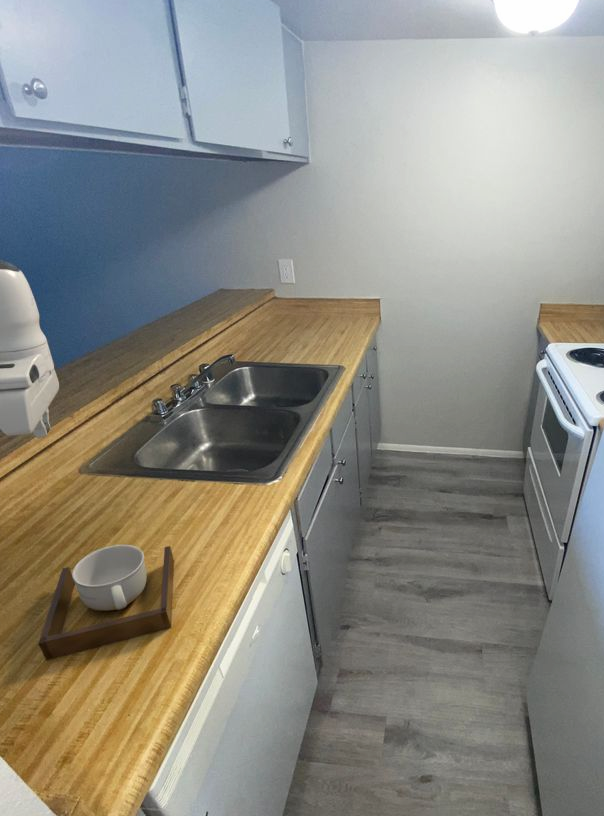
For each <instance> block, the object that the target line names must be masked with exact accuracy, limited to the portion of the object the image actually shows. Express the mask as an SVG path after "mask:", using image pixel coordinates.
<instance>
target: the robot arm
mask: <svg viewBox="0 0 604 816" xmlns="http://www.w3.org/2000/svg"><path fill="white" fill-rule="evenodd" d="M59 390H60V382H59V379H58V375H57V372H56V369H55V363H54V360H53V357H52V353H51V350H50V347H49V342H48V340H47V337H46V335H45V333H44V332H43V331H42V329H41V326H40V312H39V309H38V305H37V302H36V300H35V297H34V294H33V292H32V289H31V286H30V283H29V282H28V280H27V278H26V276H25V274H24V273H23V271H22V270H21V269H20V268H19V267H17V266H16V265H15V264H13V263H11V262H9V261H5V260H2V259H0V431H1V432H2V433H3V434H4V435H6V436H9V437H10V436H11V437H12V436H23V435H24V436H25V435H30V434H32V433H33V435H34V436H33V437H35V438H37V439H41V438H42V439H43V438H46V437H47V436H48V434H49V432H50V431H51V429H52V428H51V424H50V416H49V415H50V414H49V413H50V411H49V406H50V405H51V404H52V401H53V400H54V399H55V396H56V395H57V394H58V392H59Z"/></svg>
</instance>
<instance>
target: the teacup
mask: <svg viewBox="0 0 604 816" xmlns="http://www.w3.org/2000/svg"><path fill="white" fill-rule="evenodd" d="M71 574H72V578H73V580H74V581H75V587H76V591H77V593H78V596H79V598H80V600H81V602H82V603H83V604H84V605H85V606H86V607H87V608H89V609H90V610H95V611H101V612H102V611H114V610H123V609H125V608H126V607H127V606H128V605H129V604H130V603H133V601H135V600H136V598H138V597H139V596H140V595H141V594H142V593H143V591H144V590H145V587H146V584H147V569H146V563H145V553H144V552H143V550H141V548H139V547H138V546H135V545H132V544H115V545H109V546H104V547H102V548H99V549H97V550H94V551H92V552H90V553H88V554H86V556H84V557H82V558H81V559H80V560H79V561H78V562H77V563H76V564H75V566H74V567H73V569H72V571H71Z"/></svg>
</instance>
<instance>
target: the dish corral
mask: <svg viewBox="0 0 604 816" xmlns="http://www.w3.org/2000/svg"><path fill="white" fill-rule="evenodd" d="M173 555H174V554H173V551H172V548H171V546H170V545H168V546H165V547H164V552H163V565H162V566H163V567H162V581H161V594H160V606H159V607H160V608H157V609H152V610H149V611H145V612H141V613H137V614H133V615H132V614H131V615H129V616H124V617H120V618H117V619H112V620H108V621H104V622H101V623H97V624H92V625H89V626H84V627H80V628H76V629H72V630H68V631H64V632H62V630H63V627H64V623H65V620H66V616H67V613H68V608H69V606H70V601H71V598H72V596H73V595H72V594H73V592H74V588H75V586H76V584H75V581H74V580H73V578H72V571H71V569H70V566H66V567H62V569H61V571H60V575H59V578H58V581H57V584H56V587H55V591H54V594H53V597H52V600H51V602H50V605H49V608H48V612H47V615H46V618H45V620H44V624H43V627H42V630H41V634H40V637H39V640H38V643H37V644H38V647H39V649H40V650H41V652H42V654H43V657H44V659H45V661H49V660H50V661H51V660H52V659H53V660H54V659H58V658H60V657H61V658H62V657H64V656H69V655H73V654H76V653H79V652H84V651H87V650H91V649H95V648H99V647H103V646H106V645H110V644H114V643H118V642H123V641H126V640H129V639H133V638H137V637H142V636H144V635H148V634H152V633H156V632H160V631H164V630H168V629H171V628H172V617H173V616H172V615H173V613H172V612H173V590H174V570H175V560H174V556H173Z"/></svg>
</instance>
